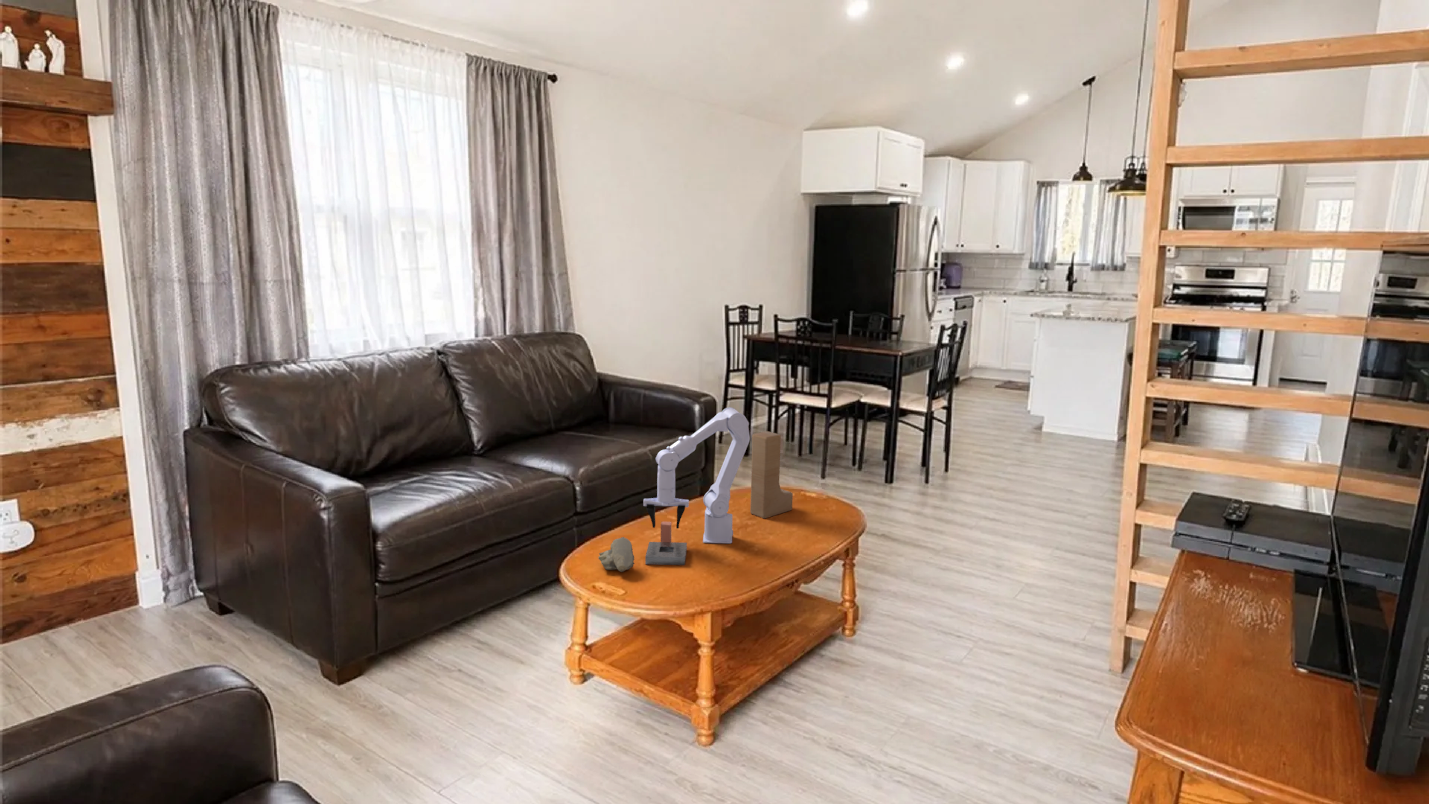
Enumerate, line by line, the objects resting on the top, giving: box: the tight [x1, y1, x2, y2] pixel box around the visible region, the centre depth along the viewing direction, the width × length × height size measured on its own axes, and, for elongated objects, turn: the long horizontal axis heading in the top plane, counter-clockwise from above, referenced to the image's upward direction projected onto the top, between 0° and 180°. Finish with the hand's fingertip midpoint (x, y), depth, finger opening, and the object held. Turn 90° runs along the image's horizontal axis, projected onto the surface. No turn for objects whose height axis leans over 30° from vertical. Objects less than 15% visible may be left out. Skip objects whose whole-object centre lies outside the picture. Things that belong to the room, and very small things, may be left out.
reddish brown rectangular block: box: [660, 521, 672, 542], centre depth 265 cm, size 3×3×7 cm
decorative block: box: [750, 430, 794, 519], centre depth 294 cm, size 8×15×30 cm, turn 132°
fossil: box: [597, 536, 635, 573], centre depth 244 cm, size 14×10×10 cm
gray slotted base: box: [644, 541, 688, 566], centre depth 254 cm, size 12×12×2 cm
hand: (665, 527), depth 264 cm, fingers open, 7 cm apart
